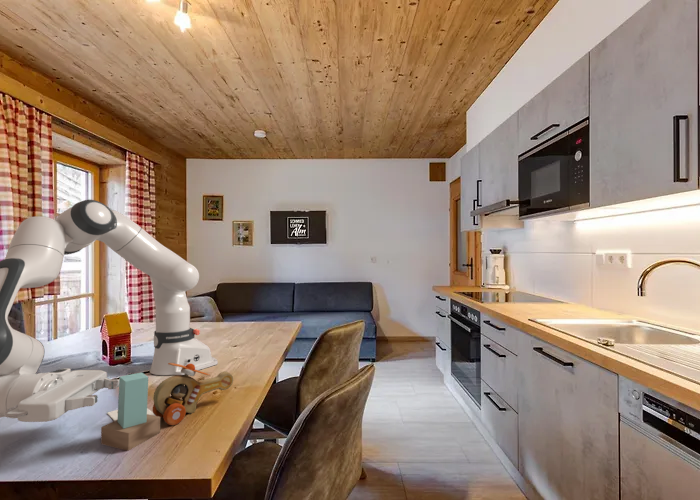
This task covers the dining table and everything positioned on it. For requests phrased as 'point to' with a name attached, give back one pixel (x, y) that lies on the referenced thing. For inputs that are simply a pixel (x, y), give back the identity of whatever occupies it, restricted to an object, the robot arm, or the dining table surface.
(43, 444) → the dining table surface
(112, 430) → the walnut base block
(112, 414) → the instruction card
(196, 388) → the toy helicopter
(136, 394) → the teal tall block
